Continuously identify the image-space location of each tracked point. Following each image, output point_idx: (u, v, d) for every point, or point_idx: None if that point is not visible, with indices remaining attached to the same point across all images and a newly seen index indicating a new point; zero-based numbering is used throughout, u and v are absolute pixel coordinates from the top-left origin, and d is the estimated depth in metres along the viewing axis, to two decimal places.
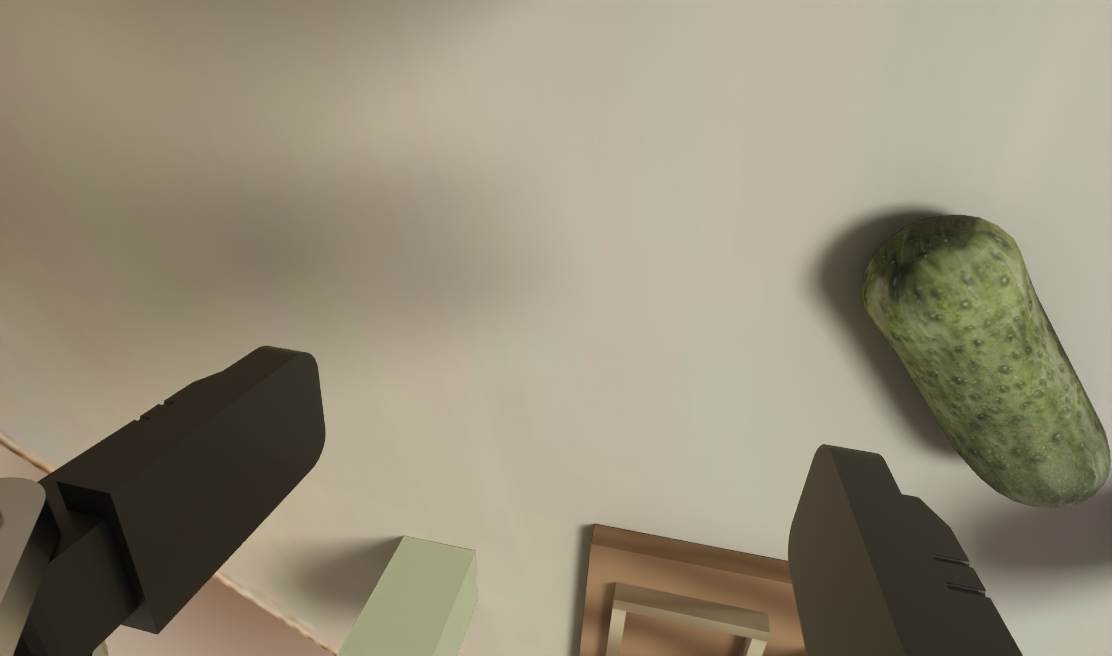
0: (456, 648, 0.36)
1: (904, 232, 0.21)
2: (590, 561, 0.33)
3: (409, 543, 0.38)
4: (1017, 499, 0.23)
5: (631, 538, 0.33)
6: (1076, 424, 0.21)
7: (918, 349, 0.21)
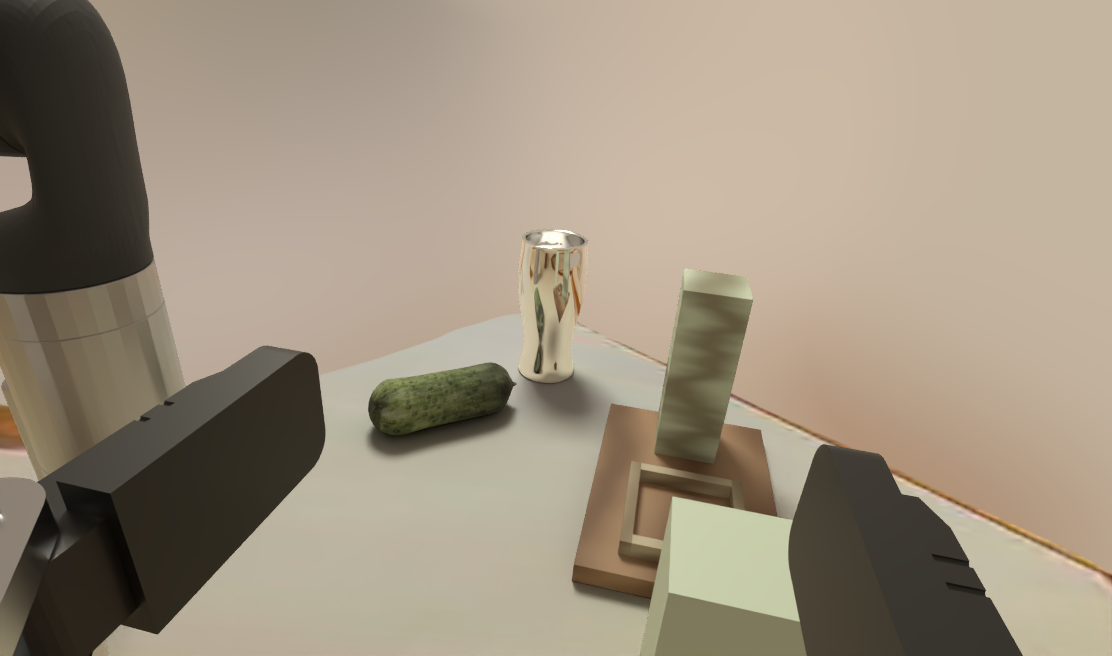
0: None
1: (370, 417, 0.50)
2: (595, 568, 0.38)
3: None
4: (500, 378, 0.53)
5: None
6: (461, 368, 0.54)
7: (413, 398, 0.50)
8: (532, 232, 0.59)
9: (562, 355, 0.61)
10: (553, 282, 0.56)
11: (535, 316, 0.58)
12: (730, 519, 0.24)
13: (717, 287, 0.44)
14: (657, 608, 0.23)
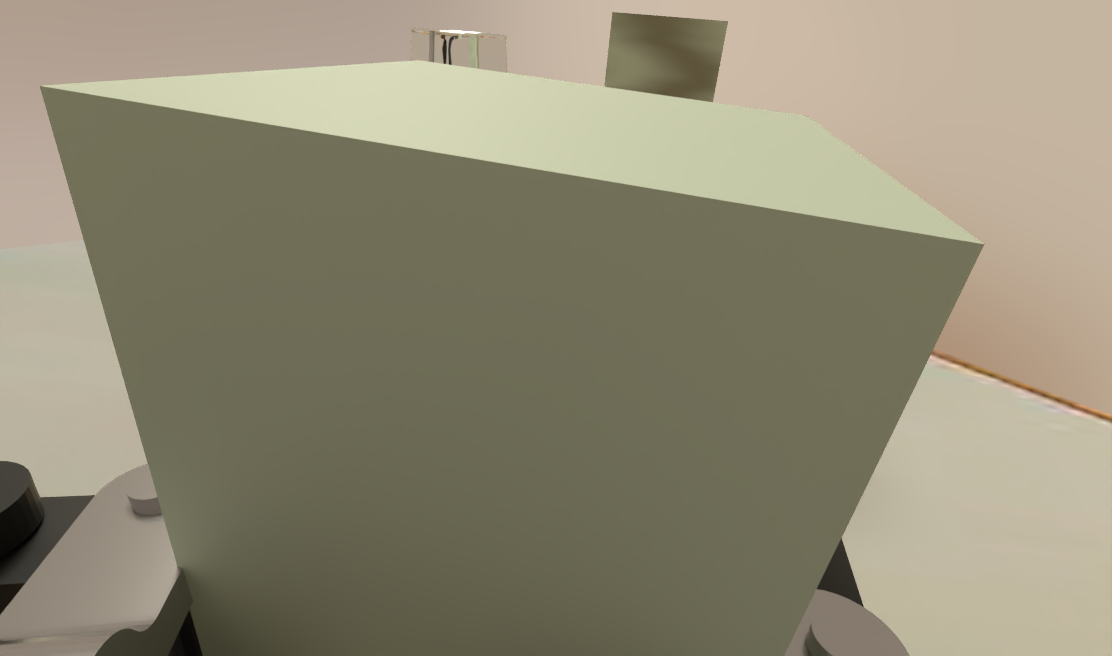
0: None
1: None
2: None
3: None
4: None
5: None
6: None
7: None
8: (431, 30, 0.42)
9: None
10: None
11: None
12: (583, 89, 0.07)
13: None
14: None
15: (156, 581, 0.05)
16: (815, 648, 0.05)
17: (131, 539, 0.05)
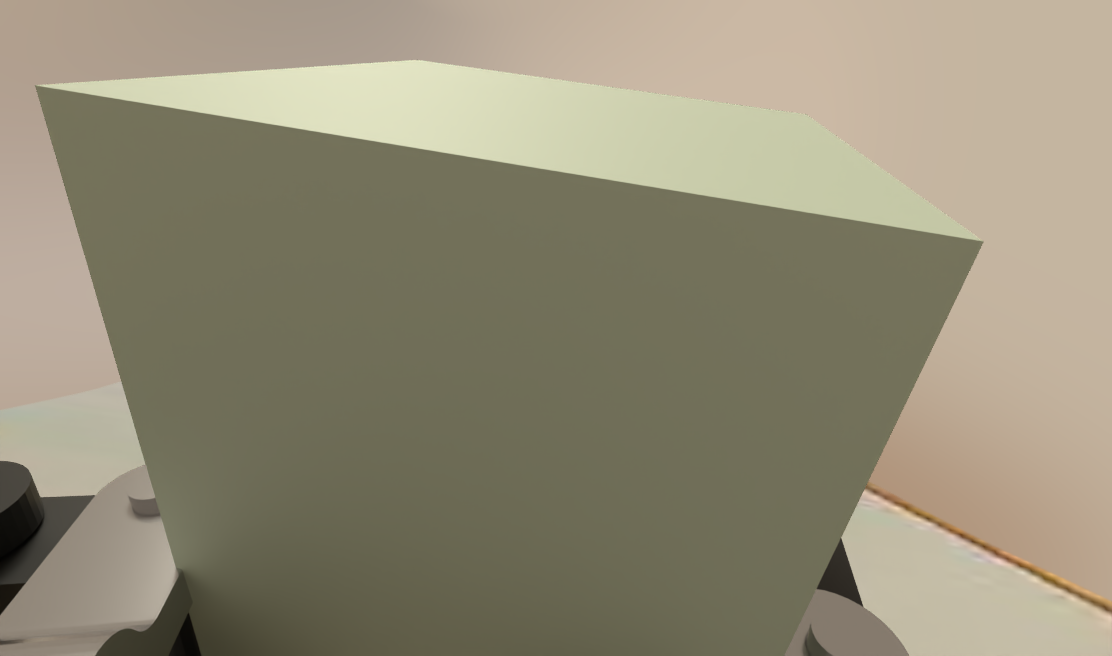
0: None
1: None
2: None
3: None
4: None
5: None
6: None
7: None
8: None
9: None
10: None
11: None
12: (582, 88, 0.07)
13: None
14: None
15: (156, 582, 0.05)
16: (814, 648, 0.05)
17: (131, 540, 0.05)
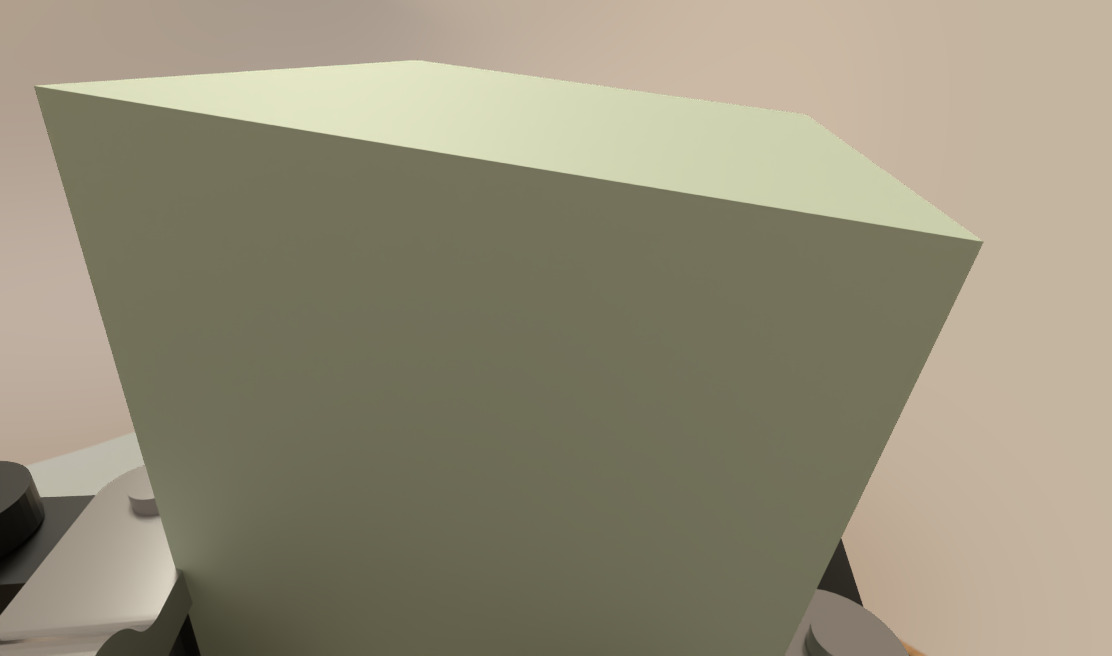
0: None
1: None
2: None
3: None
4: None
5: None
6: None
7: None
8: None
9: None
10: None
11: None
12: (581, 88, 0.07)
13: None
14: None
15: (156, 581, 0.05)
16: (814, 648, 0.05)
17: (131, 540, 0.05)
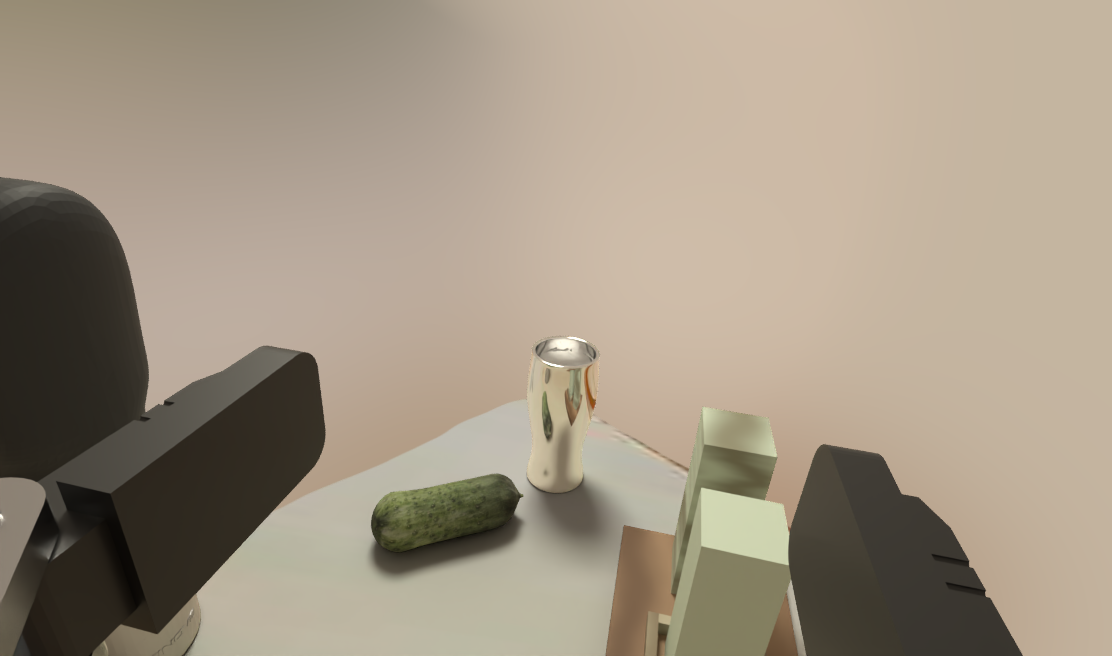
0: None
1: (372, 532, 0.50)
2: None
3: None
4: (505, 494, 0.52)
5: None
6: (467, 479, 0.54)
7: (415, 517, 0.49)
8: (542, 341, 0.57)
9: (572, 465, 0.59)
10: (564, 399, 0.54)
11: (545, 430, 0.56)
12: (740, 503, 0.35)
13: (738, 437, 0.42)
14: (691, 561, 0.35)
15: None
16: None
17: None
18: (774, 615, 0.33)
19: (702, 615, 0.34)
